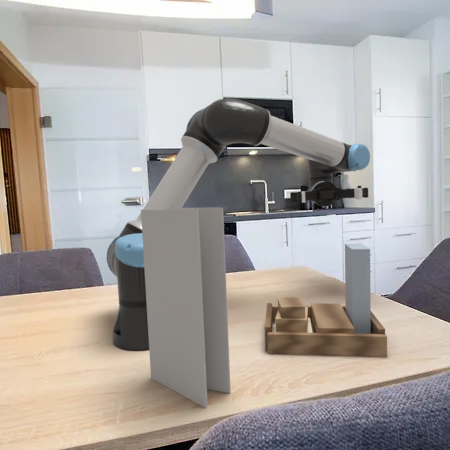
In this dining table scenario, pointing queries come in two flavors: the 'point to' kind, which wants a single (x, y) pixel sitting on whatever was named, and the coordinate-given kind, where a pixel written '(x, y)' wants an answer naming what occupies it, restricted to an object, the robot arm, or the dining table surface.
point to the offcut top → (291, 308)
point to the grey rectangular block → (358, 287)
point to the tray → (326, 334)
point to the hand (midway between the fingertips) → (331, 195)
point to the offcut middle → (292, 324)
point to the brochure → (187, 300)
